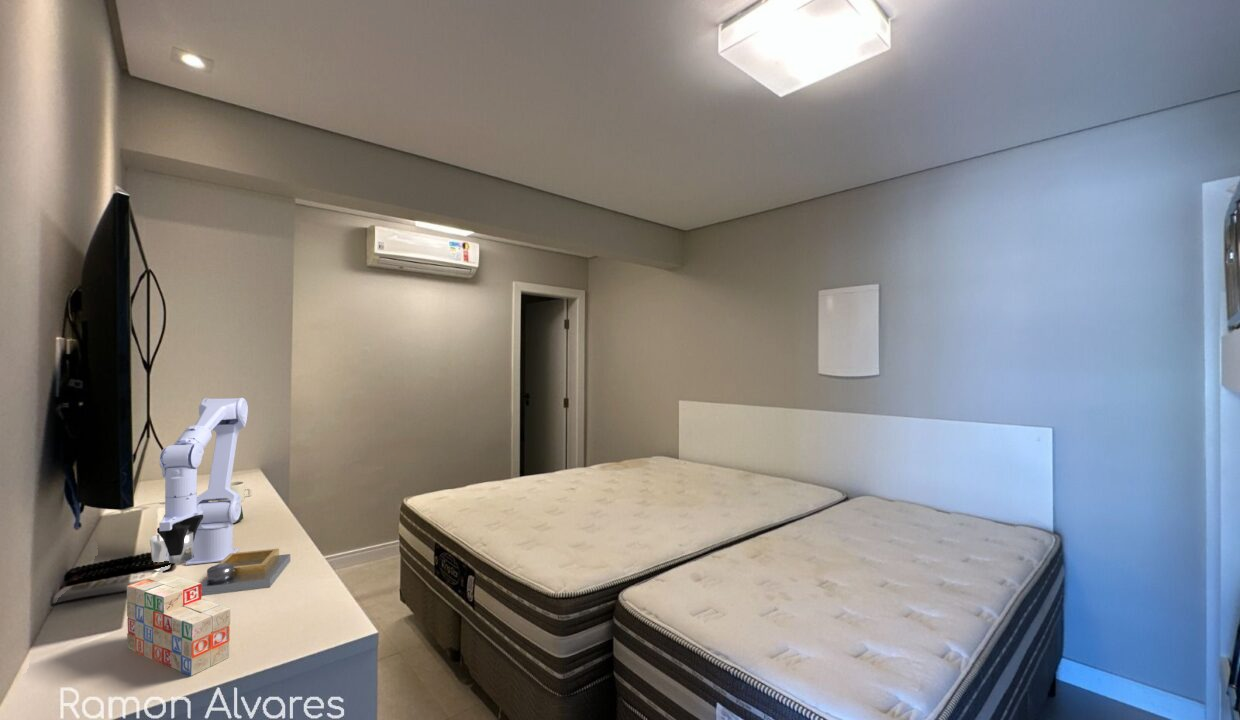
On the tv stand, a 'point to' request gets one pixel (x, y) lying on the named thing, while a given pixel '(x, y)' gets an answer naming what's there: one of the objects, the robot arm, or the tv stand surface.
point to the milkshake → (159, 551)
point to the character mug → (240, 493)
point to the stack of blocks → (176, 624)
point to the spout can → (184, 550)
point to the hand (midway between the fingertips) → (181, 551)
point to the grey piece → (245, 571)
